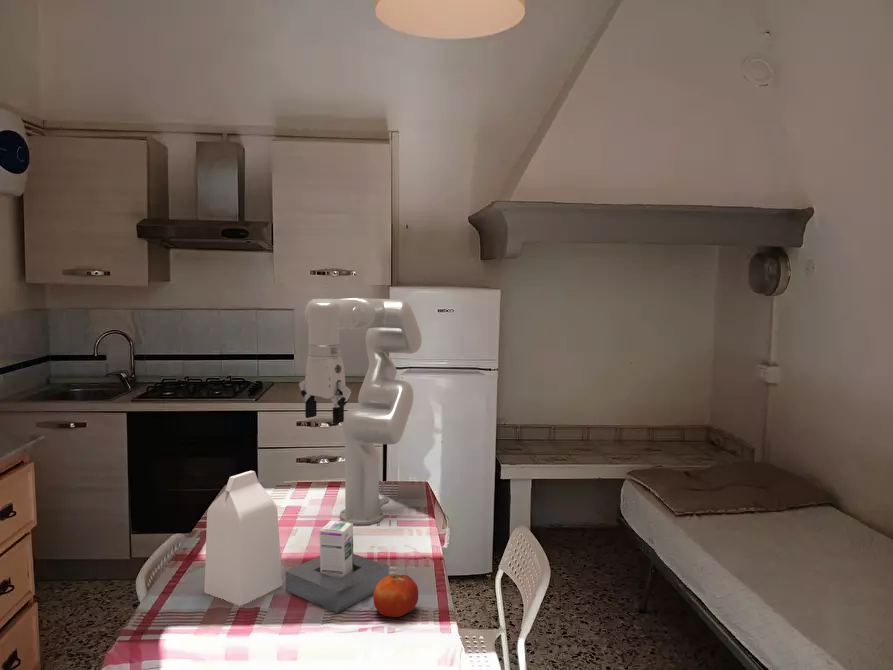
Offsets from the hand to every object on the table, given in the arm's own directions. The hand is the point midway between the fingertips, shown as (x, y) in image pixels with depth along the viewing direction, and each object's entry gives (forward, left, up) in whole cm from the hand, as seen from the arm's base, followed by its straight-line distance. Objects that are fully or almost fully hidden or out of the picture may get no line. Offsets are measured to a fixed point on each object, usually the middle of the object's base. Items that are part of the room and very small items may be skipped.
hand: (324, 419), depth 171 cm
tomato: (+13, +35, -34) cm, 50 cm away
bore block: (+13, +18, -33) cm, 40 cm away
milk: (+26, +2, -34) cm, 42 cm away
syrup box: (+13, +18, -34) cm, 40 cm away
